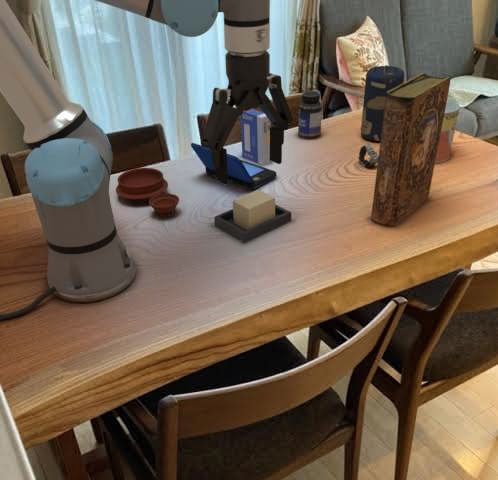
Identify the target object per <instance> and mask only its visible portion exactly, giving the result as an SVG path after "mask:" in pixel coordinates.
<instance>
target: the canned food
mask: <svg viewBox="0 0 498 480" xmlns="http://www.w3.org/2000/svg"><path fill="white" fill-rule="evenodd" d="M460 109H461V106H460V104H459V103H457V102H455V101H453V100H450V99H447V103H446V108H445V113H444V118H443V124H442V129H441V134H440V139H439V145H438V150H437V155H436V160H435V164H440V163H444V162H446V161H448V160H449V159H450V157H451V150H452V145H453V141H454V136H455V131H456V127H457V122H458V118H459V113H460Z"/></svg>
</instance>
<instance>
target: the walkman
mask: <svg viewBox="0 0 498 480" xmlns="http://www.w3.org/2000/svg"><path fill="white" fill-rule="evenodd" d="M271 125H272V123H271V121H270V120H269V119H268V117H267V116H266V115H265V113H264V112H263V111H259V110H256V109H255V108H251V109H250V110H248V111H243V113H242V115H241V116H240V132H241V133H240V134H241V135H240V136H241V155H242V158H244V159H246V160H248V161H252V162H254V163H257V164H259V165H260V166H265V165H269V164H270V163H272V161H270V127H272V126H271Z"/></svg>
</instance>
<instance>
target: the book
mask: <svg viewBox="0 0 498 480" xmlns="http://www.w3.org/2000/svg"><path fill="white" fill-rule="evenodd" d="M451 79H452V77H450V76H447V77H435V76H431V75H427V74H426V73H425V72H422V73H420V74H418V75H416V76H414V77H412V78H410V79H408V80H406V81H404V83H403V84H401V85H399V86H397V87H395V88H393V89H391V90H389V91H387V92H386V99H385V107H384V116H383V124H382V132H381V140H380V141H379V149H378V156H379V157H378V162H377V164H376V165H377V166H376V172H375V173H376V174H375V182H374V190H373V197H372V206H371V207H372V208H371V216H370V220H371V222H373V223H374V224H375V225H376V224H377V225H379V226H382V227H387V228H393V227H394V228H395V227H396V226H397V225H399V224H400V223H401V222H402V221H403V220H404V219H406V217H408V216H409V215H410V214H411V213H412V212H414V211H415V210H416V209H417V208H419V207H420V206H421V205H423V203H424V202H425V201H426V200H427V199H428V197H429V195H430V190H431V185H432V180H433V176H434V172H435V171H434V170H435V165H436V163H435V160H436V155H437V150H438V145H439V139H440V134H441V129H442V124H443V118H444V113H445V108H446V103H447V100H448V97H449V93H450V92H449V91H450V88H451V87H450V86H451Z"/></svg>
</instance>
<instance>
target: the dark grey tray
mask: <svg viewBox="0 0 498 480" xmlns="http://www.w3.org/2000/svg"><path fill="white" fill-rule="evenodd" d="M213 219H214V226H215V227H217V228H219V229H221V230H222V231H224V232H225V233H226V234H228V235H231V236H233V237H234V238H236V239H238V240H239V241H241V242H242V243H249V242H250V241H252V240H254V239H256V238H258V237H260V236H262V235H265V234H266V233H268V232H271V231H273V230H275V229H277V228H279V227H281V226H284V225H285V224H288V223H290V222H292V212H291V211H290V210H289V209H288V210H287V209H285V208H284V207H282V206H279V205H277V204H275V218H272V219H270V220H268V221H266V222H264V223H262V224H259V225H257V226H255V227H253V228H251V229H249V230H246V229H244V228H242V227H240V226H239V225H237V224H235V223H234V218H233V208H231V209H229V210H227V211H224V212H222V213H220V214H217V215H215V216H214V217H213Z"/></svg>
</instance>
